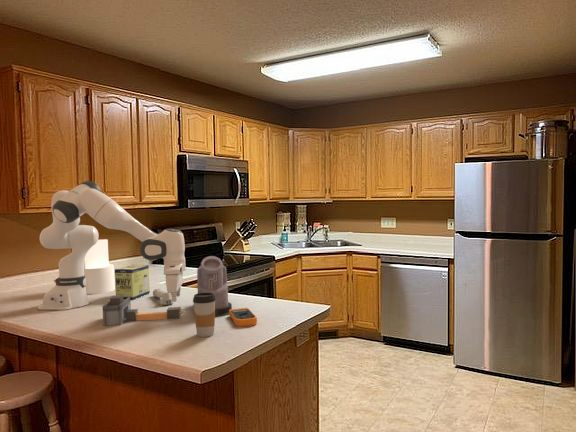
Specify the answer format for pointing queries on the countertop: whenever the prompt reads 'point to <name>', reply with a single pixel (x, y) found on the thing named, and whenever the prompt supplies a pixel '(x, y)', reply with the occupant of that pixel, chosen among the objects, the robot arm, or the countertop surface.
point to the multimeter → (243, 317)
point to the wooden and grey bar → (154, 314)
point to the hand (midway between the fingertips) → (176, 298)
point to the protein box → (132, 281)
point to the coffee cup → (204, 313)
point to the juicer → (214, 283)
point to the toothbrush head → (163, 296)
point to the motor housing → (115, 310)
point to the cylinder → (99, 269)
